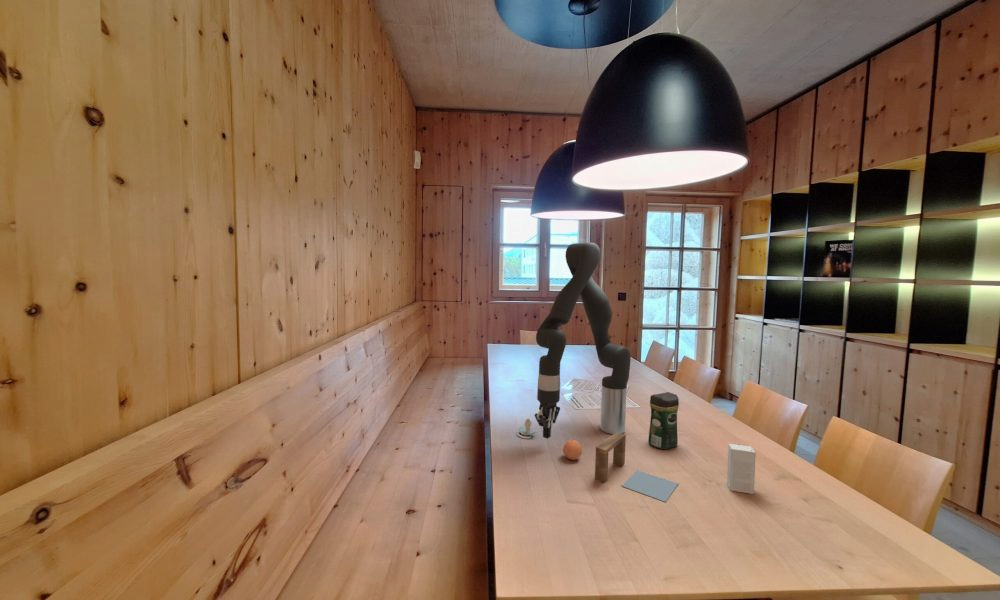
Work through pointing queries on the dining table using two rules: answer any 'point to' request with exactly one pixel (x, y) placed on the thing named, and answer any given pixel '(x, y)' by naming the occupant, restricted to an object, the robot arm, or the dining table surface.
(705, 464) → the dining table surface
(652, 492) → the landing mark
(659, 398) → the coffee jar
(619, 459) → the bridge
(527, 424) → the pacifier
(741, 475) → the skincare box
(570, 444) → the ball
